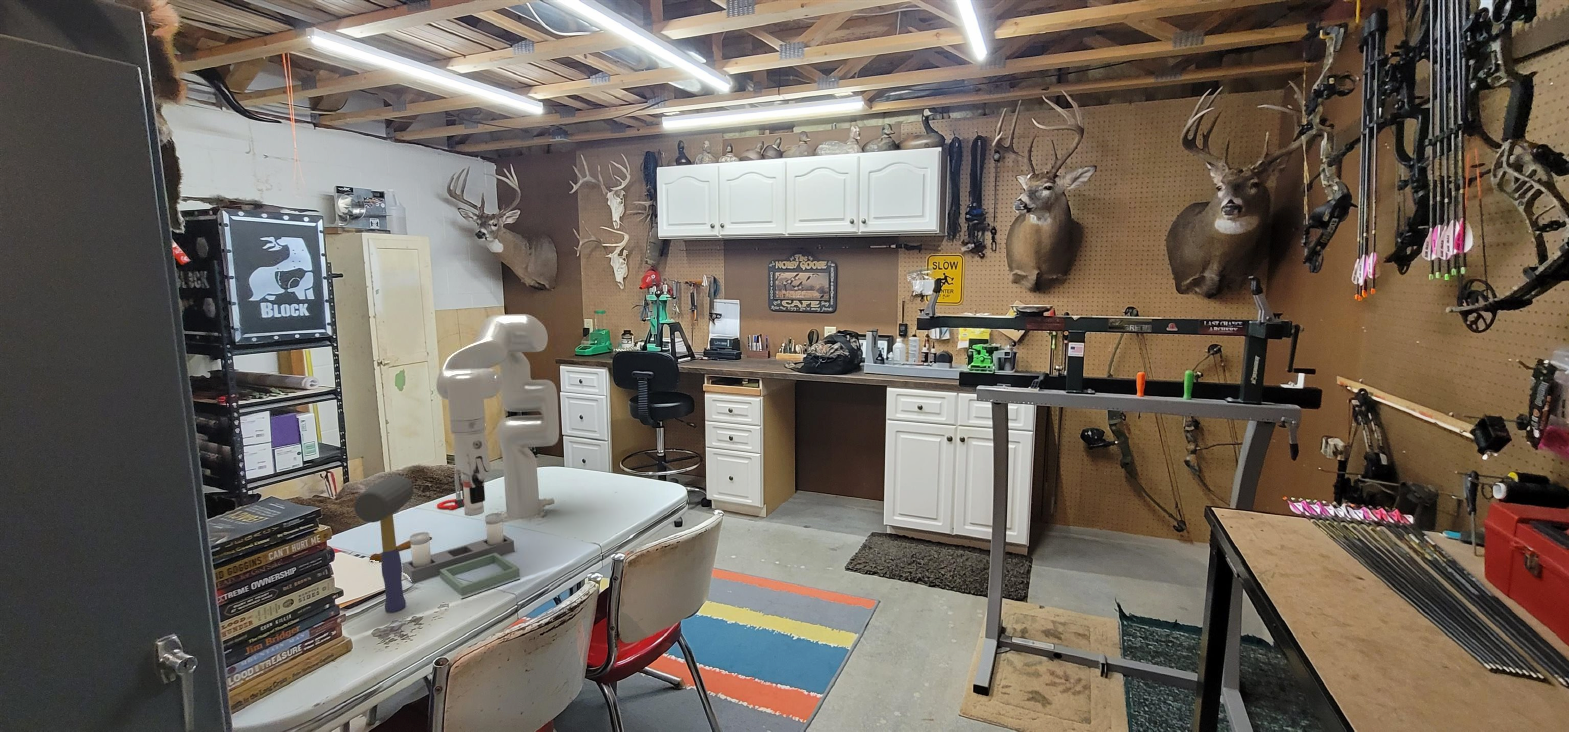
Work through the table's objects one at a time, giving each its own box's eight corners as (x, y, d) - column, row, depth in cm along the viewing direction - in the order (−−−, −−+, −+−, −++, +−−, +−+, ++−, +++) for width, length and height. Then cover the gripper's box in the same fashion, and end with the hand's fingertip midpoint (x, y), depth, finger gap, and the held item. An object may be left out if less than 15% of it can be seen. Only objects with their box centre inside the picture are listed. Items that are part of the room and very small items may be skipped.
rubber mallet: (392, 599, 150) (380, 473, 146) (426, 597, 151) (415, 472, 147) (362, 628, 138) (348, 491, 134) (399, 626, 139) (386, 489, 135)
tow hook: (431, 508, 213) (449, 511, 208) (427, 469, 212) (444, 472, 207) (455, 500, 220) (472, 503, 216) (451, 463, 219) (468, 465, 214)
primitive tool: (416, 538, 188) (415, 527, 187) (434, 539, 187) (433, 527, 187) (367, 567, 169) (366, 554, 168) (387, 568, 168) (386, 555, 168)
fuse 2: (500, 547, 177) (498, 511, 176) (507, 551, 174) (505, 515, 173) (485, 551, 174) (482, 515, 173) (491, 556, 171) (488, 519, 170)
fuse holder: (503, 547, 179) (502, 533, 178) (514, 554, 174) (513, 540, 174) (403, 578, 161) (402, 562, 161) (412, 587, 157) (411, 571, 156)
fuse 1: (429, 568, 164) (425, 530, 163) (435, 573, 161) (431, 535, 160) (410, 574, 161) (407, 535, 160) (416, 579, 158) (412, 540, 157)
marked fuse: (479, 508, 160) (477, 468, 159) (486, 512, 157) (484, 472, 156) (461, 512, 157) (459, 472, 156) (468, 517, 154) (465, 475, 153)
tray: (496, 563, 169) (495, 552, 169) (520, 579, 160) (519, 567, 159) (440, 581, 159) (439, 569, 159) (462, 599, 150) (461, 587, 150)
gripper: (499, 427, 151) (504, 504, 154) (470, 418, 163) (476, 489, 165) (465, 433, 146) (471, 512, 148) (438, 423, 158) (444, 496, 160)
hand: (473, 499), depth 157 cm, fingers closed on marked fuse, 4 cm apart
